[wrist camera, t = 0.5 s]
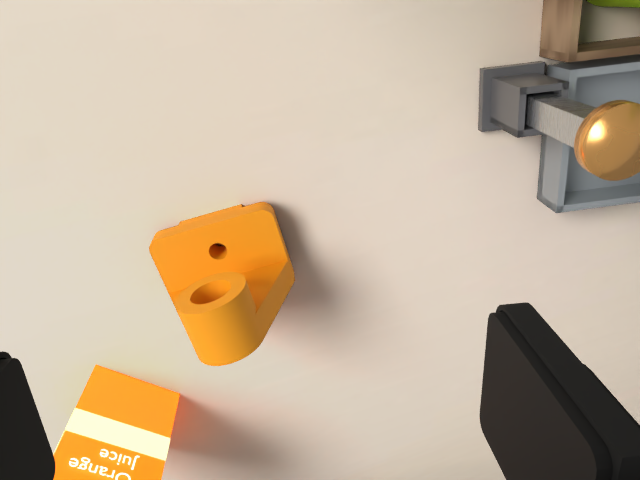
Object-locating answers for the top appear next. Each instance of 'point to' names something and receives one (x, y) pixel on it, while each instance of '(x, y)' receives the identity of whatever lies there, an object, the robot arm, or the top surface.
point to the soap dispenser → (615, 3)
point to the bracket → (225, 278)
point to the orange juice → (117, 430)
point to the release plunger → (591, 132)
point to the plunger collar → (513, 96)
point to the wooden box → (576, 35)
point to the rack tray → (559, 158)
